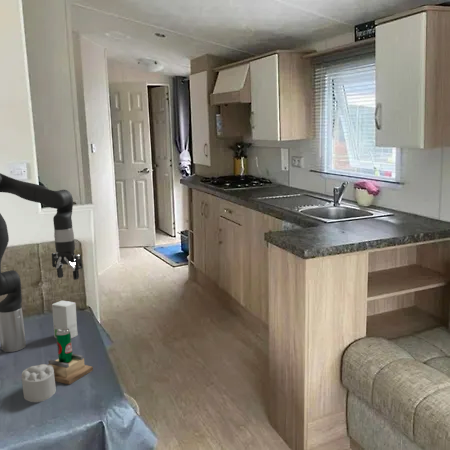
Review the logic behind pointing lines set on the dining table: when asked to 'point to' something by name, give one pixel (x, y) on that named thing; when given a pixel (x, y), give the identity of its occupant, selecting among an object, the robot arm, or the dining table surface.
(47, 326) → the dining table surface
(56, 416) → the dining table surface
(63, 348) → the soda can
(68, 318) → the skincare box
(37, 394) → the white cylindrical tub
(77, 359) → the display stand
